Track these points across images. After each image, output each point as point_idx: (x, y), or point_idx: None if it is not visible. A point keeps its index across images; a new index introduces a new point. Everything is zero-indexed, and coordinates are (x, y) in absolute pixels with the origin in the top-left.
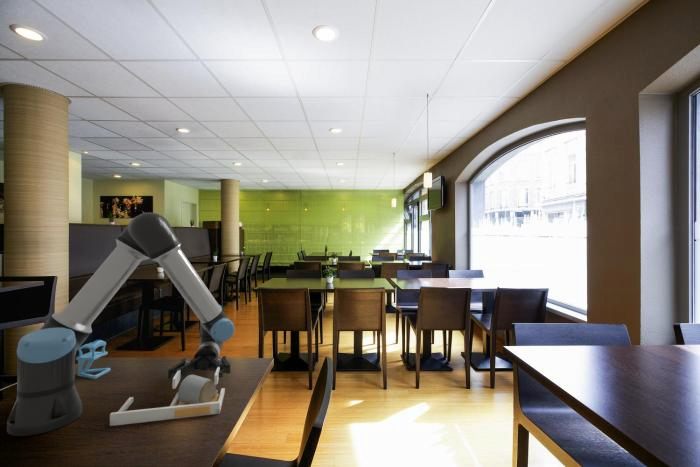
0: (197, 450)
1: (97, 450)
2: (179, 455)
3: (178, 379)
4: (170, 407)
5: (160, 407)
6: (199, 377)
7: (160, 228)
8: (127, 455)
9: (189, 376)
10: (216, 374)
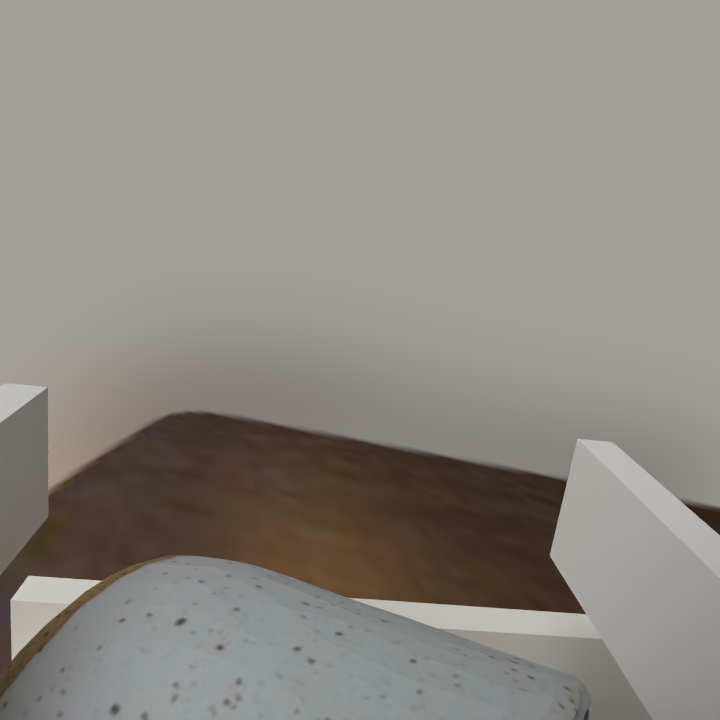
0: (225, 443)
1: None
2: (294, 442)
3: (651, 637)
4: (499, 616)
5: (601, 640)
6: (279, 666)
7: None
8: (507, 483)
9: (507, 695)
10: (7, 394)
